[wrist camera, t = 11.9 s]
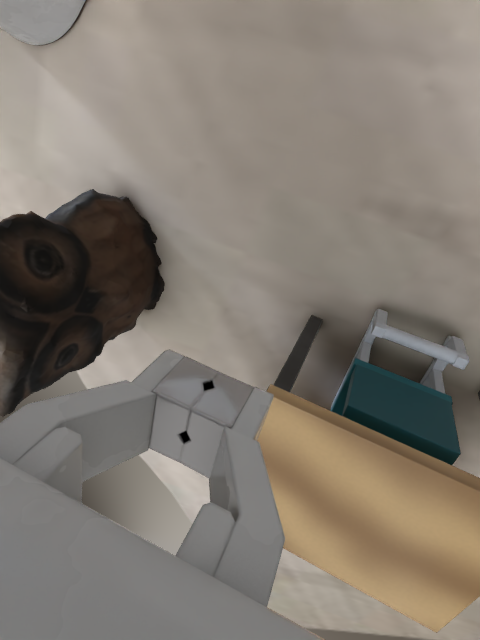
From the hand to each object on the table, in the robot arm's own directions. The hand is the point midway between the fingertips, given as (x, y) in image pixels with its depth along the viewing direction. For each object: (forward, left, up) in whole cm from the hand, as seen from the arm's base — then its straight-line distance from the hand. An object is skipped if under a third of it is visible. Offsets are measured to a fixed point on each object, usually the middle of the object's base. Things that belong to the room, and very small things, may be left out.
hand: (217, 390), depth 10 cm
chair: (+13, +9, -26) cm, 31 cm away
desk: (+16, +9, -26) cm, 32 cm away
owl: (+11, -23, -27) cm, 37 cm away
